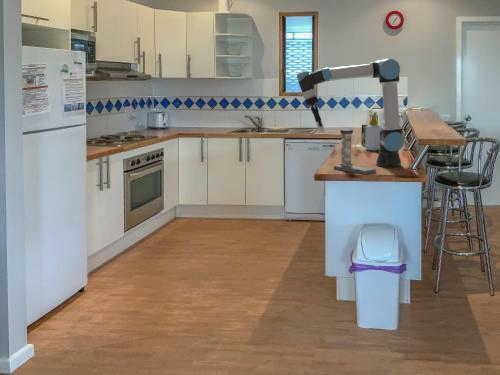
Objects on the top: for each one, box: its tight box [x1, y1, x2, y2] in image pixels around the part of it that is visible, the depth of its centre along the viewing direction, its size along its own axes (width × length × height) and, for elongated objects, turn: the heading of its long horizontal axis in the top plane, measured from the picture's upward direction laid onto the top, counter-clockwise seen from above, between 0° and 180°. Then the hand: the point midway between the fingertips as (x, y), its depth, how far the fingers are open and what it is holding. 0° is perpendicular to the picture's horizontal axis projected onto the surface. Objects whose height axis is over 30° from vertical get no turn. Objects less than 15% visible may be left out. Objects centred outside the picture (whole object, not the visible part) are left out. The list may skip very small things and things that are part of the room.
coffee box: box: [361, 124, 369, 147], centre depth 544 cm, size 9×6×16 cm
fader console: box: [333, 164, 377, 175], centre depth 419 cm, size 26×9×2 cm, turn 36°
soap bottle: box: [364, 114, 382, 152], centre depth 518 cm, size 9×9×25 cm
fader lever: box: [339, 129, 354, 167], centre depth 423 cm, size 5×5×21 cm
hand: (322, 131), depth 422 cm, fingers open, 13 cm apart
